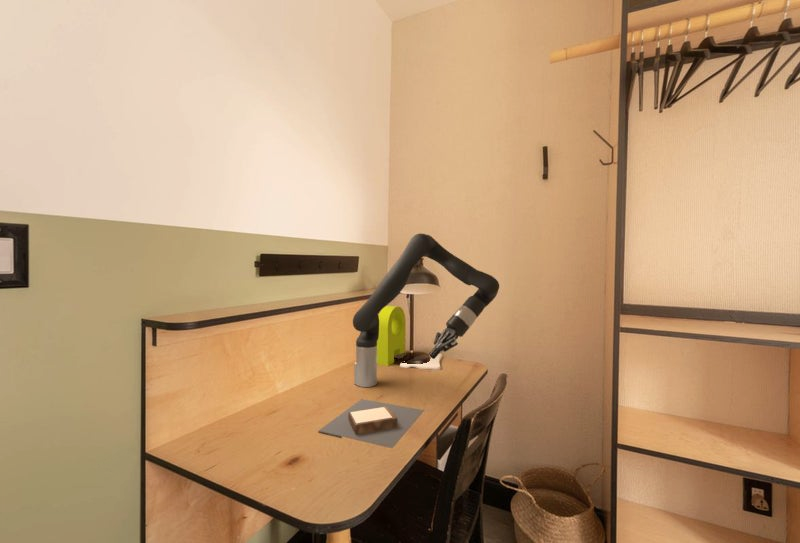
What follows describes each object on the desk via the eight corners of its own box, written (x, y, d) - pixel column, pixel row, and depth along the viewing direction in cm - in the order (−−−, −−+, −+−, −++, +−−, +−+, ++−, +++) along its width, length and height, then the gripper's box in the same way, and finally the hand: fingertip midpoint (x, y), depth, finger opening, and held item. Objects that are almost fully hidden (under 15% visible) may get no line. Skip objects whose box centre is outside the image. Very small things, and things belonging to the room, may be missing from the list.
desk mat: (318, 432, 112) (318, 430, 111) (361, 400, 137) (361, 398, 137) (392, 449, 101) (392, 447, 101) (424, 411, 127) (424, 410, 127)
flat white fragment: (440, 374, 175) (444, 358, 200) (440, 367, 175) (444, 352, 200) (399, 369, 180) (408, 354, 204) (399, 362, 180) (408, 348, 204)
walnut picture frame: (397, 427, 114) (355, 434, 109) (387, 414, 123) (348, 420, 118) (397, 417, 114) (355, 424, 109) (387, 405, 123) (348, 411, 118)
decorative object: (387, 366, 182) (387, 308, 181) (376, 364, 185) (376, 308, 184) (405, 356, 200) (405, 304, 199) (395, 355, 203) (395, 303, 202)
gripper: (446, 311, 133) (416, 346, 129) (464, 316, 121) (432, 355, 117) (458, 324, 135) (429, 358, 131) (477, 331, 123) (446, 369, 119)
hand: (431, 357), depth 124 cm, fingers closed
